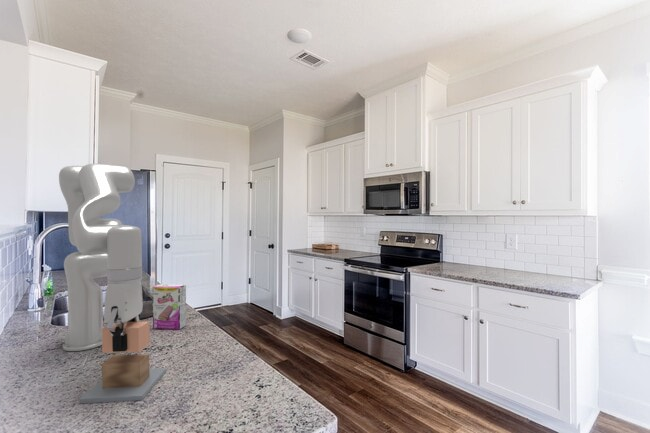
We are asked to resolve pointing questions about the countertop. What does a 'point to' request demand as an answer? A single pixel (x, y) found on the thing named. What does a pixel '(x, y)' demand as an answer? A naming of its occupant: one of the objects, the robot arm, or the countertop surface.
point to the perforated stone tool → (147, 309)
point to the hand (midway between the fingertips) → (126, 345)
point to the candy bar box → (169, 306)
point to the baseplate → (123, 390)
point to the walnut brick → (125, 371)
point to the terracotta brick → (128, 337)
